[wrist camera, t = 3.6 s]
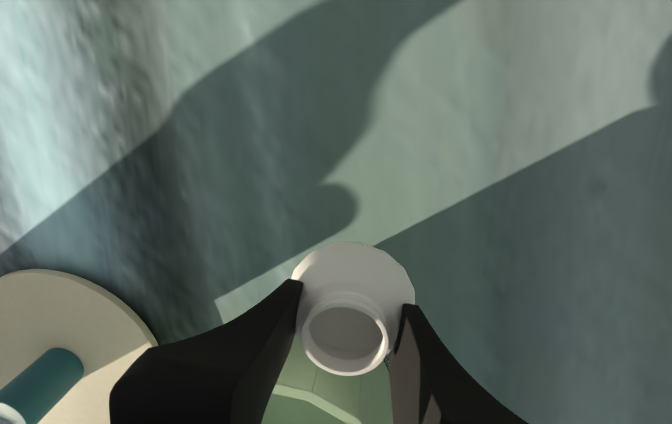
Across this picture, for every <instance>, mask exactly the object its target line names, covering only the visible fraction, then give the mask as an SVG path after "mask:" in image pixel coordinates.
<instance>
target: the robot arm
mask: <svg viewBox="0 0 672 424" xmlns="http://www.w3.org/2000/svg"><path fill="white" fill-rule="evenodd" d="M303 284H304V283H303V282H301V281H298V280H294V279H287V280H286V281H285V282H283V283H282V284H281V285H280V286H279V287H278V288H277V289H276V290H275V291H273V292H272V293H271V294H270V295H268V296H267V297H266V298H265V299H263V300H262V301H261V302H260V303H258V304H257V305H255V306H254V307H252V308H251V309H249V310H248V311H247V312H245V313H244V314H242V315H240V316H239V317H237V318H235V319H234V320H232V321H230V322H228V323H226V324H224V325H222V326H219V327H217V328H215V329H212V330H210V331H208V332H205V333H203V334H200V335H197V336H194V337H191V338H188V339H184V340H181V341H177V342H173V343H169V344H164V345H160V346H155V347H150V348H148V349H147V350H146V351H145V352H144V353H143V354H142V355H140V356H139V357H138V358H137V359H136V360H135V361H134V363H133V364H132V365H131V366H130V367H129V368H128V369H127V370H126V372H125V373H124V374H123V375H122V376H121V377H120V379H119V380H118V381H117V382H116V383H115V384H114V386H113V388H112V390H111V392H110V396H109V414H110V424H261V422H262V419H263V416H264V413H265V409H266V407H267V404H268V401H269V399H270V396H271V394H272V392H273V389H274V387H275V385H276V382H277V380H278V378H279V375H280V373H281V371H282V368H283V366H284V364H285V361H286V359H287V357H288V354H289V352H290V350H291V347H292V343H293V340H294V336H295V333H296V331H295V326H296V317H297V311H298V305H299V300H300V296H301V292H302V288H303ZM389 375H390V389H391V402H392V414H393V424H529V423H527V422H526V421H524V420H523V419H521V418H520V417H518V416H517V415H516V414H514V413H513V412H512V411H510V410H509V409H508V408H506V407H505V406H504V405H502V404H501V403H500V402H499V401H498V400H496V399H495V398H494V397H493V396H492V395H490V394H489V393H488V392H487V391H486V390H485V389H484V388H483V387H481V386H480V385H479V384H478V383H477V382H476V381H475V380H474V379H473V378H472V377H471V376H470V375H469V374H468V373H467V372H466V370H465V369H464V368H463V367H462V366H461V365H460V364H459V363H458V362H457V361H456V359H455V358H454V357H453V356H452V354H451V353H450V352H449V351H448V349H447V348H446V347H445V345H444V344H443V343H442V341H441V340H440V338H439V337H438V336H437V334H436V333H435V331H434V330H433V328H432V326H431V325H430V323H429V322H428V320H427V319H426V317H425V315H424V314H423V312H422V311H421V309H420V307H419V306H418V305H414V304H409V303H405V304H403V307H402V315H401V321H400V326H399V331H398V335H397V338H396V342H395V345H394V348H393V350H392V351H391V352H390V362H389ZM0 424H15V423H13V422H9V421H5V420H1V419H0Z"/></svg>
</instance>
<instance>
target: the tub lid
mask: <svg viewBox="0 0 672 424" xmlns="http://www.w3.org/2000/svg"><path fill="white" fill-rule="evenodd" d="M155 346H159V345H158V343H157V341H156V339H155V337H154V336H153V334H152V333H151V331H150V330H149V328H148V327H147V326H146V324H145V323H144V322H143V321H142V320H141V319H140V317H139V316H138V315H137V314H136V313H135V312H134V311H133V310H132V309H131V308H130V307H129V306H127V305H126V304H125V303H124V302H123V301H121V300H120V299H119V298H117V297H116V296H115V295H113V294H112V293H110V292H109V291H107V290H105V289H104V288H102V287H100V286H98V285H96V284H94V283H93V282H91V281H89V280H86V279H83V278H81V277H78V276H76V275H72V274H69V273H65V272H61V271H55V270H49V269H27V270H19V271H15V272H12V273H8V274H6V275H4V276H2V277H0V419H1V420H5V421H9V422H13V423H15V424H110V414H109V396H110V392H111V390H112V388H113V386H114V384H115V383H116V382H117V381H118V380H119V379H120V377H121V376H122V375H123V374H124V373H125V372H126V370H127V369H128V368H129V367H130V366H131V365H132V364H133V363H134V361H135V360H136V359H137V358H138V357H139V356H140V355H142V354H143V353H144V352H145V351H146V350H147V349H148V348H150V347H155Z"/></svg>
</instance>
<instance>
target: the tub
mask: <svg viewBox="0 0 672 424" xmlns="http://www.w3.org/2000/svg"><path fill="white" fill-rule="evenodd" d="M261 424H393V414H392V402H391V389H390V375H389V372H388V369H387V367H386V365H385V363H384V361H382V362H381V363H380V364H379V365H378V366H377V367H376V368H374V369H373V370H371V371H369V372H367V373H364V374H360V375H354V376H343V375H337V374H333V373H330V372H328V371H326V370H324V369H322V368H320V367H319V366H317V365H316V364H315V363H314V362H313V361H312V360H311V359H310V358H309V357H308V356H307V354H306V353H305V351H304V349H303V346H302V343H301V340H300V338H299V336H298V335H297V333H295V336H294V340H293V343H292V347H291V350H290V352H289V354H288V357H287V359H286V361H285V364H284V366H283V368H282V371H281V373H280V375H279V378H278V380H277V382H276V385H275V387H274V389H273V392H272V394H271V396H270V399H269V401H268V404H267V407H266V409H265V413H264V416H263V419H262V422H261Z"/></svg>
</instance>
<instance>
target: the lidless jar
mask: <svg viewBox="0 0 672 424" xmlns="http://www.w3.org/2000/svg"><path fill="white" fill-rule="evenodd" d="M291 279H294V280H298V281H301V282H303V283H304V284H303V288H302V292H301V296H300V300H299V305H298V311H297V317H296V326H295V331H296V333H297V335H298V336H299V338H300V340H301V343H302V346H303V349H304V351H305V353H306V354H307V356H308V357H309V358H310V359H311V360H312V361H313V362H314V363H315V364H316V365H317V366H319V367H320V368H322V369H324V370H326V371H328V372H330V373H333V374H337V375H343V376H354V375H360V374H364V373H367V372H369V371H371V370H373V369H374V368H376V367H377V366H378V365H379V364H380V363H381V362H382V361H383V360H384V358H385V357H386V355H388V354H389V353H390V352H391V351H392V350H393V348H394V345H395V342H396V338H397V335H398V331H399V326H400V321H401V315H402V307H403V304H405V303H409V304H414V305H415V291H414V288H413V286H412V283H411V281H410V279H409V277H408V275H407V273H406V271H405V269H404V267H402V266H401V265H400V264H399V263H398V262H397V261H396V260H394V259H393V258H392V257H391V256H390V255H389V254H388V253H386V252H385V251H383V250H380V249H377V248H374V247H372V246H369V245H366V244H363V243H361V242H352V243H332V244H330V245H327V246H325V247H322V248H320V249H317V250H315V251H312V252H311V253H310V254H309V255H308V256H307V257H306V258H305V259H304V260H303V261H302V262H301V263H300V264H299V265H298V266H297V267H296V268H295V270H294V272H293V275H292V278H291Z"/></svg>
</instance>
